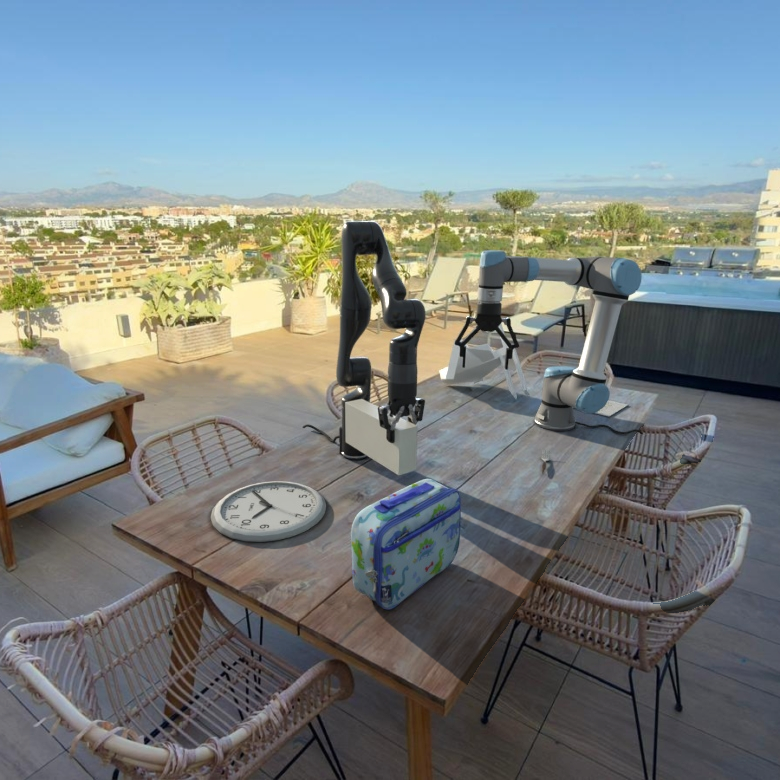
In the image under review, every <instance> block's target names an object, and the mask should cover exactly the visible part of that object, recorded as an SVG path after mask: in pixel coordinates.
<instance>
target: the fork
mask: <svg viewBox="0 0 780 780" xmlns="http://www.w3.org/2000/svg"><path fill="white" fill-rule="evenodd" d="M541 460H542V461H543V463H542V465H541V474H544V473H545V469H546V468H547V463H546V462H548V461H550V460H551V452H549V451H547V450H544V449H543V450H542V455H541Z"/></svg>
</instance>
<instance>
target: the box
mask: <svg viewBox="0 0 780 780" xmlns="http://www.w3.org/2000/svg"><path fill="white" fill-rule="evenodd" d="M378 406H379V405H376V404H374V403H371V402H370V403H369V402H367V401H365V400H363V399H359V400H354V401H349V402H345V434H346V443H348V444H349V445H351V446H353V447H354V448H356V449H357V450H359V451H361V452H362V453H364V454H365V455H367V456H368V457H369V458H370V459H371V460H373V461H374V462H376V463H378V464H380V465H381V466H383V467H384V468H386V469H388V470H389V471H391V472H393V473H394V474H395V475H397V476H401V475H404V474H408V473H412V472H415V471H417V458H418V457H417V456H418V431H419V429H418V428H419V426H418V425H417V424H416V425H415V424H413V423H411V422H409V421H408V420H407V419H404V418H403V417H401V418H400V419H399V422H398V423H396V426H395V429H394V430H395V441H394V443H390V442H388V440H387V439H386V429H384V428H382V427H381V426H380V423H379V415H378ZM388 414H389V413H388ZM393 417H394V418H395V416H394V415H393ZM391 423H392V422H391Z"/></svg>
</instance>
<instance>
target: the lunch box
mask: <svg viewBox="0 0 780 780" xmlns="http://www.w3.org/2000/svg"><path fill="white" fill-rule="evenodd" d="M461 499H462V498H461V493H460V491H459V490H458V489H457V488H454V487H451V488H449V487H447V486H446V485H444V484H441V483H440V482H437V481H436V480H434V479H431V478H424V479H421V480H418V481H416V482H414V483H412V484H410V485H408V486H405V487H404V488H401V489H399V490H397V491H395V492H393V493H392V494H389V495H387V496H385V497H384V498H381V499H380V500H377V501H375V502H373V503H371V504H370V505H367V506H366V507H364V508H362V509H361V510H360V511H359V512H358V513H357V514H356V516H355V517H354V519H353V521H352V523H351V529H350V547H351V548H350V552H351V576H352V584H353V588H354V590H356V591H357V592H359V593H360V594H363V595H365V596H367V597H368V598H369V599H371V600H372V601H374V602H376V604H377V606H378V607H379V608H382V609H384V610H386V611H387V610H388V611H390V610H393V609H394V608H396V607H397V606H398V605H400V604H401V603H402V602H403V601H405V600H406V599H407V598H408V597H409V596H411V595H412V594H413V593H415V592H417V590H419V589H420V588H422V587H423V586H424V585H425V584H426V583H428V581H430V580H431V579H432V578H434V577H435V576H438V574H440V573H441V572H443V571H445V570H446V569H447V568H448V567H449V566H451V564H452V563H453V562H454V560H455V558H456V556H457V554H458V551H459V548H460V541H461V522H462V521H461V519H462V515H461V513H462V512H461V510H462V509H461V508H462V506H461V505H462V504H461V503H462V502H461Z"/></svg>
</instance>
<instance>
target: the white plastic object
mask: <svg viewBox="0 0 780 780" xmlns="http://www.w3.org/2000/svg"><path fill="white" fill-rule="evenodd" d="M498 327H499V328H500V330H501V331H502V332H503V334H504V335H505V336H506V334H505V331H504V328H503V325H502V323H501V324H500V325H499V326H498ZM499 338H500V342H501V345H502V347H500V348H498V349H496V350H495V349H493V348H492V347H491V346H490V344H489V343H488V342H487V343H483V344H479V345H473V346H469V345H468V343H467V344H466V345H465V346H466V358H465V368H463V367H462V364H463V357H460V347H459V346H458V345H455V340H456V338H454V340H453V344H452V349H451V353H450V357H449V362H448V366H446V367H444V368H442V369H440V370H439V371H438V372H439V376H440V381H442V383H443V384H444V385H445V386H449V385H458V384H467V383H468V384H469V383H473V384H477V383H480V382H482V381H484V378H485V377H486V376H487V375H489V374H490V373H492V372H494V371H495V370H496V369H497V368H499V367H500V366H502V370H503V373H504V376H505V380H506V383H507V386H508V390H509V393H510V394H511V395H512V397H513V398H514V399H515V400H517V392H516V391H517V390H516V388H515V385H514V381H513V378H512V375H511V371H510V369H509V367H508V370H505V357H506V348H509V347H508V346H507V345H506V343H505V342H504V341H503V339H502V338H501V337H500V336H499ZM463 340H464V339H463V338H462V339H461V340H460V342H462V341H463ZM510 360H513V363H514V366H515V369H516V372H517V376H518V380H519V382H520V385H521V389H522V391H523V393H524V395H525V396H526V397H528V396H531V395H530V390H529V388H528V387H529V386H528V384H527V381H526V378H525V375H524V371H523V369H522V368H523V367H522V366H521V362H520V359H519V355H518V352H517V348H514V349H513V354H512V359H509V361H510Z"/></svg>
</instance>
